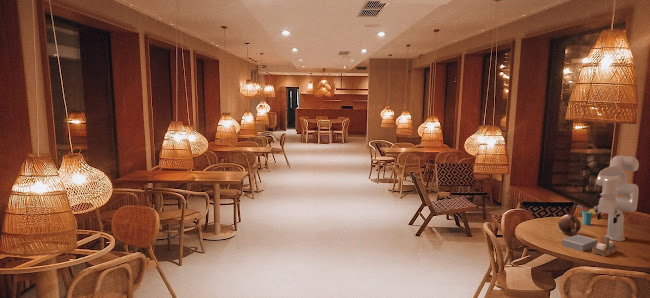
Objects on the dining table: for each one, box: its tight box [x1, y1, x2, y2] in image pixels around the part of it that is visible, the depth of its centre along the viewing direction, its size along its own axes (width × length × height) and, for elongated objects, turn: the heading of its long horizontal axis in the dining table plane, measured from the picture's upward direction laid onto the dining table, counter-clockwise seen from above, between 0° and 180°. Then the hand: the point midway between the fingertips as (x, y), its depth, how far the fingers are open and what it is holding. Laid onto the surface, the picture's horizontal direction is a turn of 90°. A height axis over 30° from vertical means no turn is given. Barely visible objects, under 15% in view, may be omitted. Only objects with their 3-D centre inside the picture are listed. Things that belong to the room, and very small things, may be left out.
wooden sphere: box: [557, 214, 582, 236], centre depth 324 cm, size 15×15×15 cm
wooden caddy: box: [591, 235, 618, 258], centre depth 285 cm, size 17×8×11 cm, turn 122°
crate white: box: [596, 242, 606, 251], centre depth 283 cm, size 4×4×4 cm
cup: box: [576, 205, 597, 226], centre depth 349 cm, size 14×8×15 cm, turn 55°
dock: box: [561, 234, 598, 252], centre depth 299 cm, size 20×14×5 cm
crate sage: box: [609, 240, 614, 248], centre depth 288 cm, size 4×4×4 cm
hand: (606, 221), depth 283 cm, fingers open, 9 cm apart
